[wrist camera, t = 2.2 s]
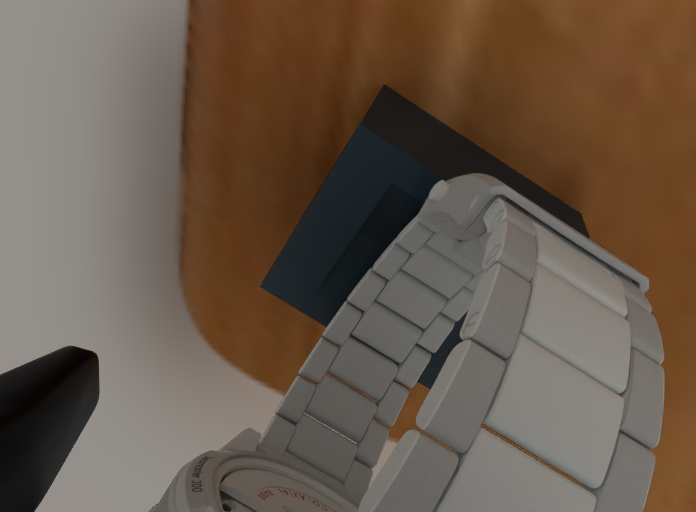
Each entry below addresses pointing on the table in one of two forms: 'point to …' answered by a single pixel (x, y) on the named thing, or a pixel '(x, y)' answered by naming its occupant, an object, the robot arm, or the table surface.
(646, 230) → the table surface
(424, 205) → the watch
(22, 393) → the robot arm
